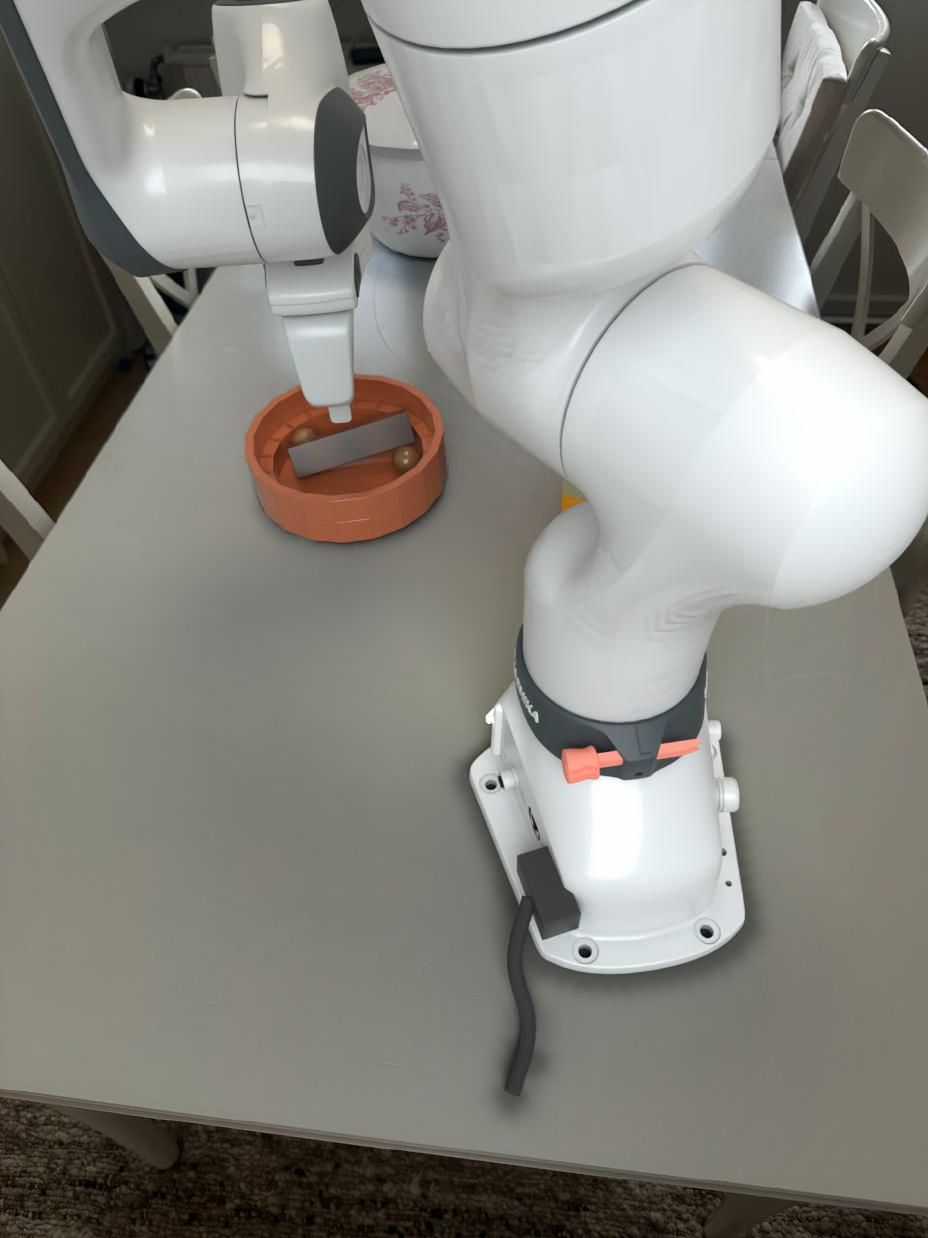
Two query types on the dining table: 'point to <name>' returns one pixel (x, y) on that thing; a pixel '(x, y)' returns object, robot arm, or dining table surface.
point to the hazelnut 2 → (405, 459)
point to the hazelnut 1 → (303, 434)
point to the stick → (351, 443)
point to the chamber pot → (398, 171)
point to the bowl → (346, 466)
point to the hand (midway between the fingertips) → (342, 384)
